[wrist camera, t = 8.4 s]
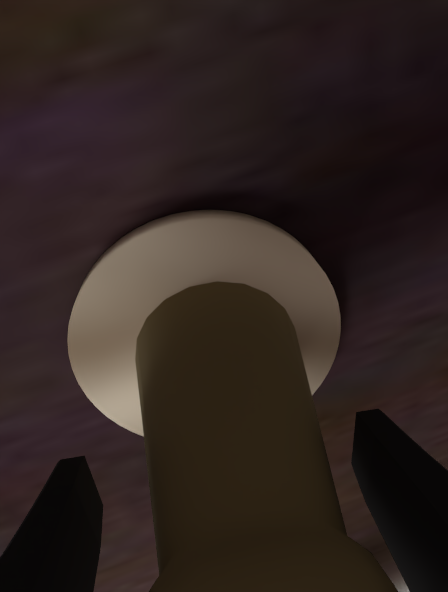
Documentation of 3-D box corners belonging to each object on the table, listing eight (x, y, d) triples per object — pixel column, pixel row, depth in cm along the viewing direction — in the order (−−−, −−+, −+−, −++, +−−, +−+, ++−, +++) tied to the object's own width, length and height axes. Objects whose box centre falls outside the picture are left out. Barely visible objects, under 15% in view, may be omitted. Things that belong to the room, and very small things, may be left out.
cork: (304, 276, 14) (581, 700, 5) (290, 406, 17) (444, 829, 8) (125, 286, 14) (34, 800, 4) (142, 419, 17) (112, 900, 7)
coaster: (327, 408, 19) (334, 424, 18) (107, 443, 18) (104, 461, 17) (337, 192, 14) (348, 200, 13) (37, 229, 13) (28, 241, 13)
